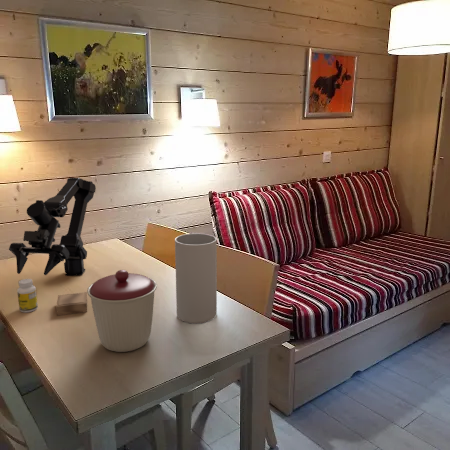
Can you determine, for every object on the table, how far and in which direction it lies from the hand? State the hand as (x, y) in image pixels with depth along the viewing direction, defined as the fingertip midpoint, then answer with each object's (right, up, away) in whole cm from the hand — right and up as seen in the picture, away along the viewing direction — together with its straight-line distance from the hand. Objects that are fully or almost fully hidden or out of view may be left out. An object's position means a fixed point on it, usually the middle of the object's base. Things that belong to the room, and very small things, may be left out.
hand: (31, 274), depth 138 cm
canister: (+35, -17, -21) cm, 44 cm away
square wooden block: (+13, -11, 0) cm, 17 cm away
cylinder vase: (+54, -13, -4) cm, 56 cm away
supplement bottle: (-1, -11, -1) cm, 11 cm away
